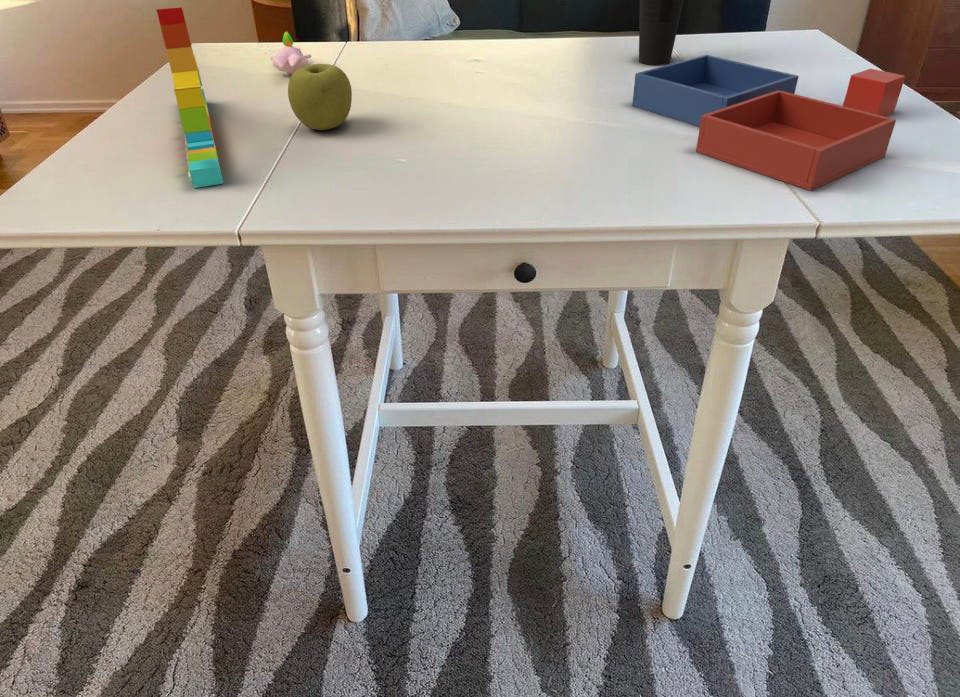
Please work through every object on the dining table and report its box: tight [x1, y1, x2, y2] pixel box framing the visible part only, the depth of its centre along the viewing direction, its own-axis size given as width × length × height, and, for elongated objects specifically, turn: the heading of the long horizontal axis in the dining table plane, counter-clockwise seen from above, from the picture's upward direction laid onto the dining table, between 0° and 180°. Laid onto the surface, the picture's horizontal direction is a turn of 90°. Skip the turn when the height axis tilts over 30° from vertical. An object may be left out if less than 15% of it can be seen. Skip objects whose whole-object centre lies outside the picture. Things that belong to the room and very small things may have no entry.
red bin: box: [695, 90, 897, 192], centre depth 79 cm, size 14×14×4 cm
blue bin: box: [631, 54, 800, 128], centre depth 93 cm, size 14×14×4 cm
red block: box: [842, 68, 906, 117], centre depth 90 cm, size 4×4×4 cm
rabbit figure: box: [269, 31, 312, 76], centre depth 109 cm, size 6×6×15 cm
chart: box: [156, 6, 224, 189], centre depth 83 cm, size 30×3×15 cm, turn 20°
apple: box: [287, 63, 353, 131], centre depth 88 cm, size 8×8×7 cm
